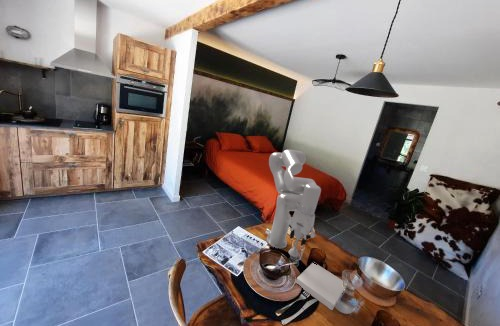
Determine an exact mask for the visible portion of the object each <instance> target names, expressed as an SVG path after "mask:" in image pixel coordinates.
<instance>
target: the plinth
mask: <svg viewBox="0 0 500 326" xmlns="http://www.w3.org/2000/svg"><path fill="white" fill-rule="evenodd" d="M314 263H315V262H314ZM314 263H313V262H311V263H310V265H308V267H306V269H305V270H303V272H301V273H300V274H299V276H297V278H296V279H295V284H296V283H297V284H299V285H300V286H301V287H302V288H303V289H302V288H301V287H300V286H299V287H300V288H301V289H302V290H304V291H305V292H307V293H308V294H309V295H310V294H311V295H310V296H312V297H313V298H315V300H317V301H318V302H320V303H321V304H322V305H324V306H325V307H326V308H328V309H329V310H331V311H334V308H335V307H336V306H337V303H338V302H339V301H340V299H341V297H342V296H341V295H343V294H344V292H345V291H344V289H345V288H344V287H343V286H342V285H343V281H344V280H342V279H341V278H340V277H338V276H337V275H334V274H333V273H331V272H330V271H329V270H326V269H325V268H324V267H322V266H320V265H319V264H317V263H316V264H317V265H316V264H314ZM297 284H296V285H297ZM345 290H346V289H345ZM343 291H344V292H343ZM342 293H343V294H342ZM339 298H340V299H339Z"/></svg>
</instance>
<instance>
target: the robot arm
mask: <svg viewBox="0 0 500 326" xmlns="http://www.w3.org/2000/svg"><path fill="white" fill-rule="evenodd" d="M306 160H307V155H306V153H305V152H303V150H302V151H301V150H296V149H295V150H294V149H285V150H283V151H282V152H273V153H271V154H270V156H269V159H268V166H269V169H270V172H271V173H272V176H273V180H274V184H275V189H276V192H277V193H278V195H277V198H276V208H275V212H274V218H273V223H272V226H271V230H270V228H266V230H265V232H264V233H265V234H266V235H267V236H266V243H267V244H268V245H269V246H270V247H272V248H274V247H275V249H278V248H279V249H280V250H283V249H285V248H286V247H287V246H288V241H287V237H288V233H289V232H288V231H290V234H289V239H291V240H292V239H294V238H295V234H294V229H297V224H298V225H300V226H302V227H303V228H301V233H302V234H304V237H303V238H302V239H301V243H300V246H301V247H303V246H305V245H306V243H307V240H308V239H312V238H315V237H316V234H315V233H316V232H315V231H314V226H315V219H316V214H315V212H316V209H317V206H318V203H319V202H318V201H319V199H320V195H321V192H322V188H321V187H320V186H319V185H318V184H317V183H316V181H315V179H312V178H307V177H306V178H305V177H297V176H296V175H298V174H300V173H301V172H302V170H303V165H305V163H306ZM283 167H285V168H286V169H284V168H283ZM290 212H294V213H293V215H291V214H290ZM289 229H290V230H289ZM279 249H278V250H279Z"/></svg>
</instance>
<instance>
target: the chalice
mask: <svg viewBox="0 0 500 326" xmlns="http://www.w3.org/2000/svg"><path fill="white" fill-rule="evenodd" d="M301 228H303V227H302V226H300V225H298V224H297V229H294V234H295V235H294V238H295V239H296V240H295V242H294V244H293V247H290V249H289V250H288V254H289V255H290V256H292V258H293V257H294V258H297V257H298V256H299V251H298V249H297V247H298V244H299V241H301V240H302V239H303V238H304V234H302V233H301Z"/></svg>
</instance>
